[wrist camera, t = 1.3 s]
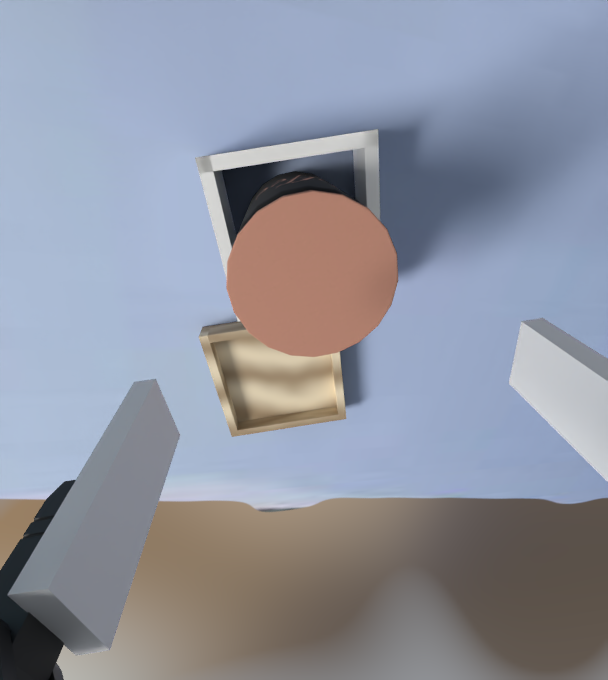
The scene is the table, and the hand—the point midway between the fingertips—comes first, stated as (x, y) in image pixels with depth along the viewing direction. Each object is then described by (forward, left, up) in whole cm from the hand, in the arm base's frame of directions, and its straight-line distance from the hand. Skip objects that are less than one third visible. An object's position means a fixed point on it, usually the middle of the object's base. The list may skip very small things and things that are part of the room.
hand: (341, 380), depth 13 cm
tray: (+18, -5, -28) cm, 33 cm away
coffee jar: (0, 0, -28) cm, 28 cm away
